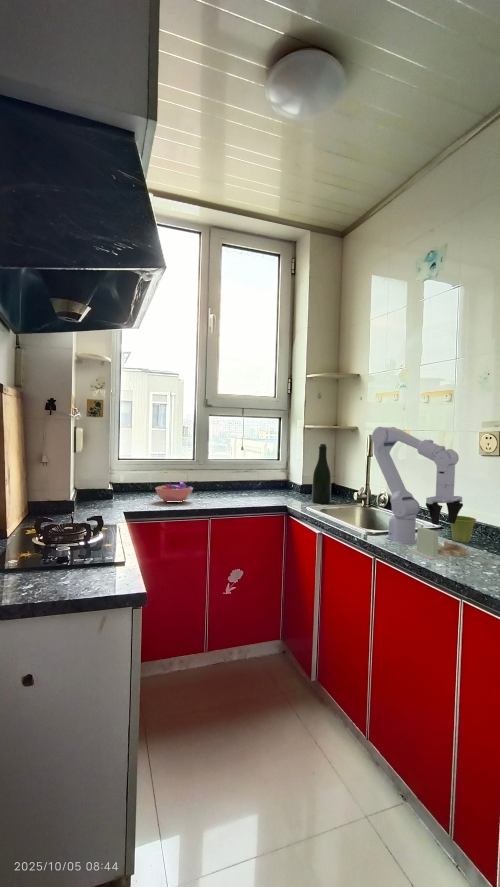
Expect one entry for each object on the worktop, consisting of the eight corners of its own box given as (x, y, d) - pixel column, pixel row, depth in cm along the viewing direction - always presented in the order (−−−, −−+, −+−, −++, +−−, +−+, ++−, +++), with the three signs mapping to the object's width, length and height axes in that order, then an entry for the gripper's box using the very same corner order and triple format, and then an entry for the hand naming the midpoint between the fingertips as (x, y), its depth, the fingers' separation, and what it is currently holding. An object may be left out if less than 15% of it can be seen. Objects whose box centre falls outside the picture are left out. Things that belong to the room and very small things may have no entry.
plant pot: (480, 544, 157) (481, 520, 157) (455, 543, 157) (456, 520, 156) (466, 537, 166) (467, 515, 166) (443, 537, 166) (443, 515, 166)
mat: (408, 552, 144) (408, 550, 144) (424, 550, 146) (424, 549, 146) (429, 560, 135) (429, 558, 135) (445, 558, 138) (445, 556, 138)
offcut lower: (430, 554, 145) (430, 550, 145) (438, 553, 147) (438, 550, 147) (444, 559, 140) (445, 556, 140) (453, 558, 141) (453, 555, 141)
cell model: (155, 499, 234) (156, 479, 234) (192, 499, 238) (192, 479, 237) (154, 505, 217) (154, 483, 217) (193, 505, 221) (194, 483, 221)
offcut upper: (432, 551, 145) (432, 548, 145) (438, 550, 146) (438, 547, 146) (444, 555, 140) (444, 552, 140) (450, 554, 141) (450, 551, 141)
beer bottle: (330, 501, 243) (332, 443, 242) (331, 504, 233) (333, 444, 232) (311, 500, 245) (313, 443, 244) (311, 503, 234) (313, 443, 233)
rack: (436, 549, 148) (436, 542, 148) (446, 548, 150) (446, 541, 150) (457, 557, 140) (457, 549, 140) (467, 555, 142) (468, 548, 141)
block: (416, 551, 144) (417, 527, 143) (421, 550, 144) (422, 527, 144) (432, 557, 137) (433, 532, 137) (437, 556, 138) (438, 532, 138)
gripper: (438, 486, 140) (436, 527, 140) (470, 485, 145) (468, 524, 146) (422, 483, 146) (420, 522, 147) (453, 482, 152) (451, 520, 152)
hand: (443, 523), depth 147 cm, fingers open, 7 cm apart
